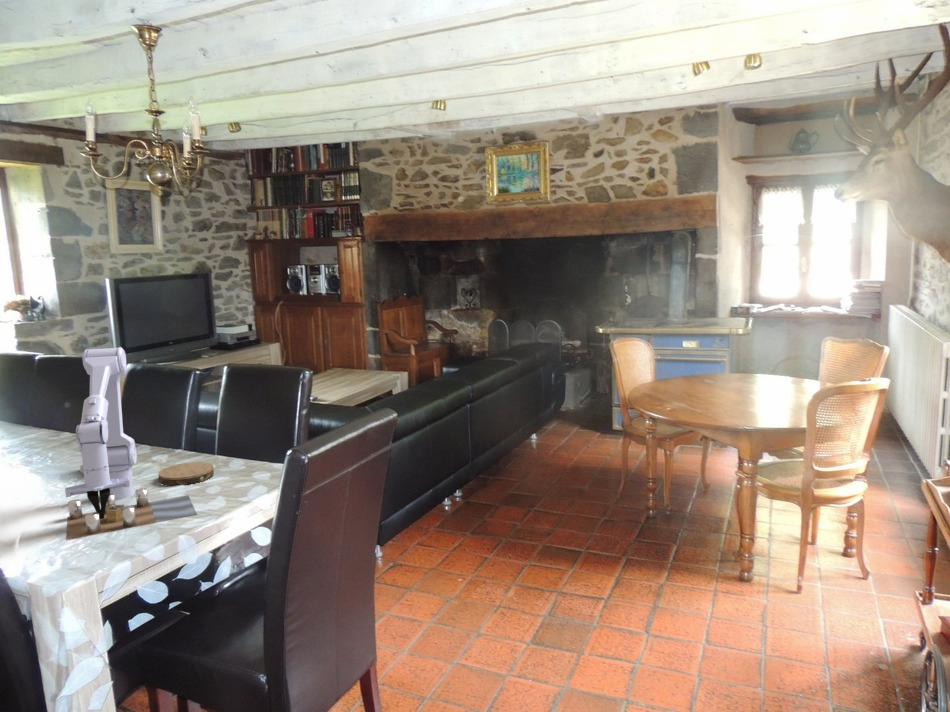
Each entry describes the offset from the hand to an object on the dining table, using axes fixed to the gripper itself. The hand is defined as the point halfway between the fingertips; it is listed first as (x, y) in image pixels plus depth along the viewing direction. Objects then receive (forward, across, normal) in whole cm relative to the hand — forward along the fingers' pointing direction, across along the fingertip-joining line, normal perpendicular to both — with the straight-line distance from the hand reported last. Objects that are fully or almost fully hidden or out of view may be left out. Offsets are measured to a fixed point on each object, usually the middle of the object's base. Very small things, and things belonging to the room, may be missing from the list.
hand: (101, 517), depth 178 cm
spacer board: (+2, +7, 0) cm, 7 cm away
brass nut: (+1, +3, 0) cm, 3 cm away
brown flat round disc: (+2, +24, +29) cm, 38 cm away
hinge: (+2, 0, +50) cm, 51 cm away
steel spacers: (+2, +2, 0) cm, 3 cm away
